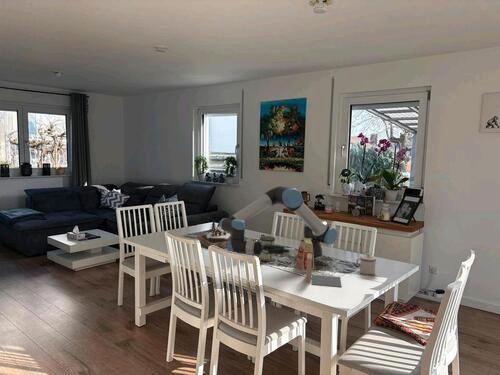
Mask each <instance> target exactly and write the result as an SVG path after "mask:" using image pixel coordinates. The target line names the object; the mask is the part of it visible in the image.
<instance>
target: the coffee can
mask: <svg viewBox="0 0 500 375" xmlns="http://www.w3.org/2000/svg"><path fill="white" fill-rule="evenodd" d="M259 242H261V243H262V245H267V244H270V245H275V246H276V237H274V236H270V235H269V236H268V235H264V236H260V237H259ZM275 255H276V254H264V252H261V254H260V255H259V259H260V260H261V261H267V262H268V261H274V260H275Z"/></svg>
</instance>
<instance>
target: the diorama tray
mask: <svg viewBox="0 0 500 375" xmlns="http://www.w3.org/2000/svg"><path fill="white" fill-rule="evenodd" d="M226 233H229V232H226ZM208 234H209V233H207V234H199V235H196V240H197V239H198V240H200V242H201V245H204V246H205V247H207V248H209V247H208V246H210V245H215V246H218V247H221V248H220V249H224V248H227V244H228V241H227V242H219V243H211V242H209V241H207V240H205V238H206V236H207V235H208ZM229 234H230V235H231V236H232V234H231V233H229ZM244 240H245V241H246V239H245V238H244ZM200 242H199V243H200Z"/></svg>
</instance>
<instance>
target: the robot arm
mask: <svg viewBox="0 0 500 375" xmlns="http://www.w3.org/2000/svg"><path fill="white" fill-rule="evenodd" d="M276 205H280V206H284V208H286V209H287V210H288V212H290V213H294V214H295V215H296V216H297V217H298V218H299V219H300V220H301V221H303V223H304V226H303V237H304V238H311V242H312V245H313V254H314V257H320V256H322V255H323V249H322V245H321V243H322V244H325V245H328V246H331V245H334V244H335V242H336V241H337V239H338V230H337V229H336V228H335V227H331V226H330V225H329V224H328V223H327V222H326V221H323V220H321V219H320V218H319V217H318V216H317V215H316V214H315V213H314V212H313V211H312V210H311V209H310V208H309V207H308V206H307V205H306V204H305V202H304V198H303V194H302V192H301V191H300V190H298V189H297V188H294V187H286V186H276V187H273V188H271V189H270V190H268V191H266V192H264V193H263V194H262V195H261V197H260V198H258V199H256V200H254V201H253V202H251V203H250V204H248V205H246V206H245V207H244V208H242V209H240V210H239V211H237V212H236V213H234V214H232V215H231V216H230V217H228V218H227V217H223V218H221V220H219V223H220V224H219V223H218V224H219V225H220V228H221V229H222V231H223V232H224V231H226V232H229V233H231V234H232V238H231V239H230V240H228V244H227V247H226V249H227V252H228V251H232V252H237V253H236V254H243V255H244V254H245V255H248V256H249V255H257V256H260V254H261V252H264V254H275V255H284V254H291V255H295V254H296V248H293V247H285V246H284V245H281V246H280V245H276V244H275V245H270V244H267V245H262V243H261V242H260V241H254V240H246V239H245V235H246V234H245V233H246V232H245V230H246V224H245V223H246V222H247V221H249V220H250V219H251V218H253V217H255V216H256V215H258V214H259V213H261V212H263V211H264V210H265V209H267V208H269V207H270V208H271V207H273V206H276ZM244 239H245V240H244ZM232 252H231V253H232Z"/></svg>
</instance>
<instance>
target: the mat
mask: <svg viewBox="0 0 500 375" xmlns="http://www.w3.org/2000/svg"><path fill="white" fill-rule="evenodd" d="M311 286H319V287H320V286H323V287H332V288H334V287H336V288H342V280H341V276H329V275H320V274H319V275H316V274H311Z"/></svg>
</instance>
